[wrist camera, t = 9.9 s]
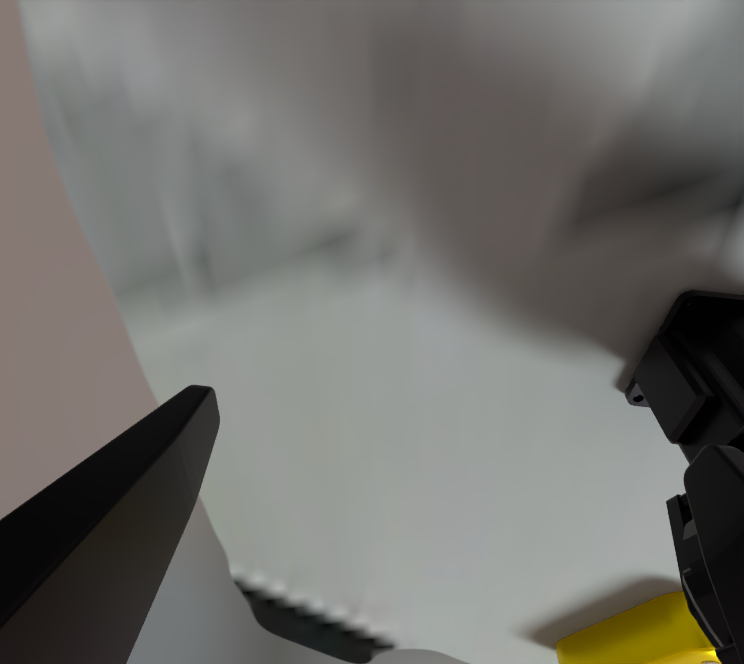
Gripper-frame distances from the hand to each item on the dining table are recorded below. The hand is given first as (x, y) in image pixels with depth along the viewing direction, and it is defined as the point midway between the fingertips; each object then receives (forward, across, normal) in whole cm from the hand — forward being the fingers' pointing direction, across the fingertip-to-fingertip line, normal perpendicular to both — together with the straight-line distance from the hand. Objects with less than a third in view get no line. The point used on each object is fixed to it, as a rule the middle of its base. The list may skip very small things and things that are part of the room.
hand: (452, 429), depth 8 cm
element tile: (+13, -26, +37) cm, 47 cm away
